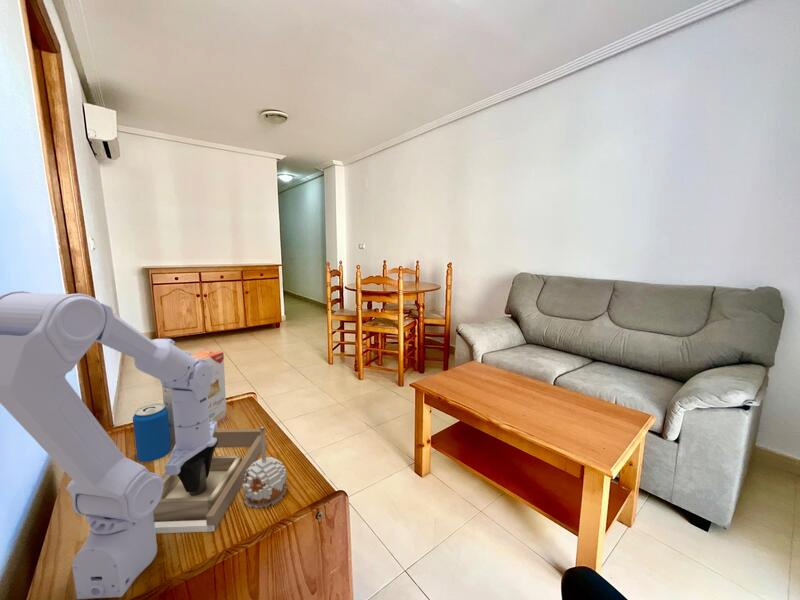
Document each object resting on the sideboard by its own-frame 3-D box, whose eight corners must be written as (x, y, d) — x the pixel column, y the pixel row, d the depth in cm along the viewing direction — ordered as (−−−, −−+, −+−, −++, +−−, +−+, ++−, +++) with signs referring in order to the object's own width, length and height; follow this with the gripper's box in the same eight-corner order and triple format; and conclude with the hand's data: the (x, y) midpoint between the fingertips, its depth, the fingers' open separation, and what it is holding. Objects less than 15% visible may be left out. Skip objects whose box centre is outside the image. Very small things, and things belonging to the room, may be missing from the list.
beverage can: (166, 445, 83) (162, 399, 81) (175, 455, 79) (171, 408, 77) (134, 457, 78) (128, 409, 76) (142, 469, 74) (136, 418, 72)
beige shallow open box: (213, 518, 60) (211, 489, 59) (143, 520, 59) (140, 491, 58) (242, 470, 72) (241, 446, 72) (185, 471, 72) (183, 447, 71)
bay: (214, 535, 57) (212, 510, 56) (123, 539, 56) (120, 514, 55) (265, 446, 83) (264, 428, 82) (203, 448, 82) (201, 429, 81)
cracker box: (184, 450, 81) (177, 368, 78) (166, 445, 83) (158, 365, 79) (229, 421, 94) (224, 350, 91) (212, 418, 96) (206, 348, 93)
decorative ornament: (236, 500, 65) (231, 429, 63) (271, 478, 71) (268, 413, 69) (259, 519, 61) (255, 444, 58) (294, 494, 67) (292, 425, 65)
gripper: (192, 440, 56) (198, 512, 58) (230, 402, 71) (234, 460, 73) (149, 441, 56) (156, 513, 58) (196, 402, 70) (200, 461, 72)
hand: (197, 484), depth 65 cm, fingers closed on beige shallow open box, 3 cm apart
